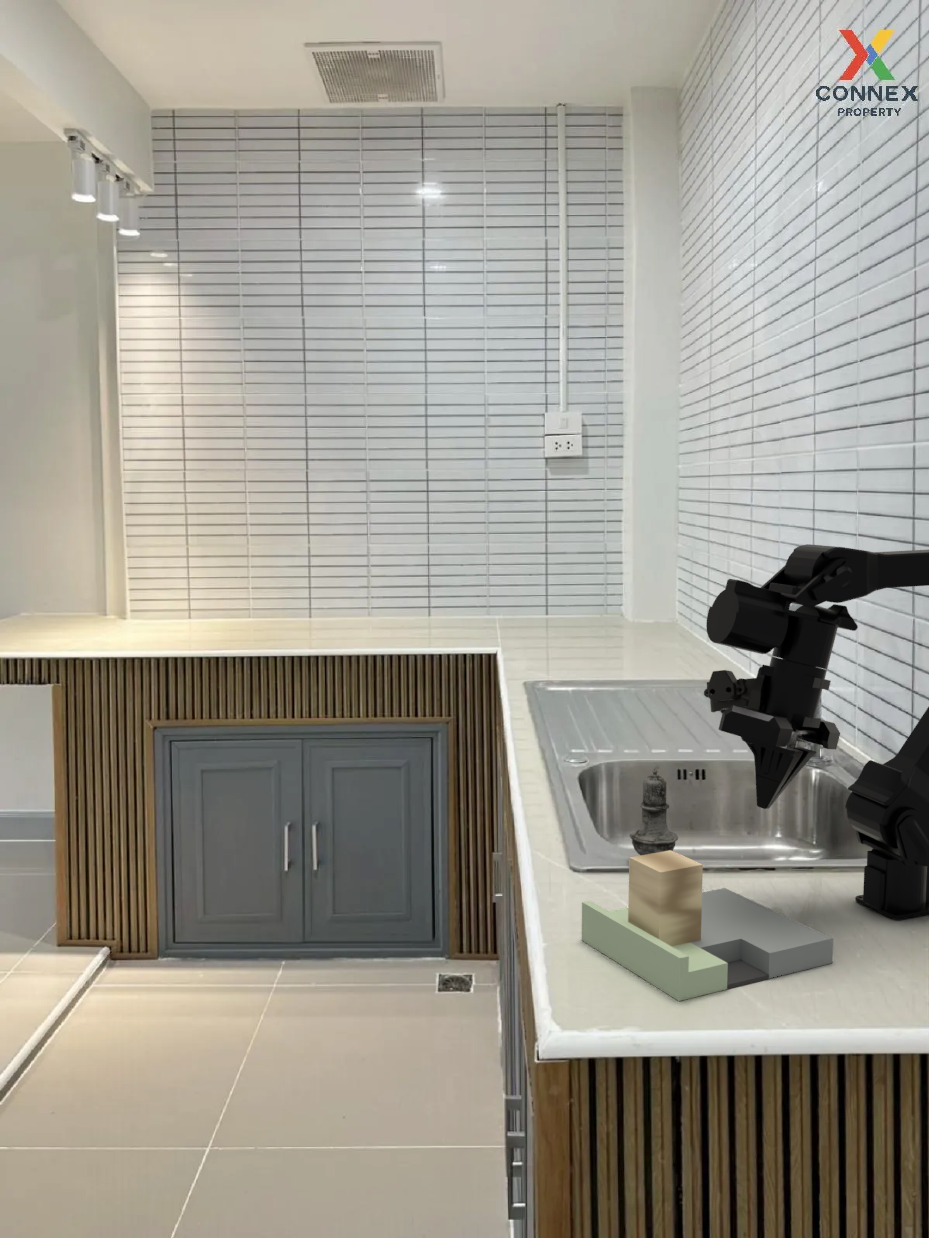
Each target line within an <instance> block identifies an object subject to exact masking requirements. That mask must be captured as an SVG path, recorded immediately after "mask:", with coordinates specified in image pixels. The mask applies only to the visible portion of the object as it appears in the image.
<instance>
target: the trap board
mask: <svg viewBox="0 0 929 1238" xmlns="http://www.w3.org/2000/svg"><path fill="white" fill-rule="evenodd" d="M581 941H582V942H584V943H585V944H587V945H588V946H590V947H591V948H594V949H595V950H597V951H598V952H600V953H602V954H603V955H605V956H606V957H607V958H610V960H613V961H614V962H616V963H617V964H619V965H620V966H622V967H624V968H625V969H627V970H629V971H630V972H632V973H634V974H636V976H638V977H640V978H642V979H643V980H645V981H646V982H648V983H649V984H651V985H652V986H654V987H656V988H657V989H659V990H661V991H662V992H663V993H665V994H667V995H669V996H670V997H672V998H673V999H675V1000H677V1001H678V1002H680V1001H685V1000H689V999H694V998H697V997H700V996H705V995H709V994H713V993H717V992H721V991H725V990H728V989H729V990H730V989H732V988H737V987H742V986H745V985H749V984H754V983H757V982H761V981H765V980H770V979H774V978H777V976H778V977H781V975H782V976H785V975H790V974H793V972H794V973H798V972H802V971H806V970H808V969H809V970H810V969H814V968H817V967H823V966H826V965H830V964H833V953H834V951H833V950H834V938H833V937H832V936H829V935H827V934H825V933H823V932H821V931H818V930H816V929H814V928H813V927H810V926H808V925H806V924H804V923H802V922H799V921H797V920H795V919H793V918H790V917H788V916H786V915H785V914H781V913H780V912H777V911H775V910H774V909H771V908H770V907H766V906H765V905H762V904H760V903H758V902H756V901H753V900H752V899H749V898H748V897H745V896H743V895H741V894H740V893H739V894H738V893H736V892H734V891H732V890H730V889H728V888H725V887H724V888H719V889H713V890H708V891H702V918H701V940H699V941H694V942H690V943H685V944H681V945H676V946H670V945H668V944H666V943H665V942H663V941H661V940H659V939H657V938H656V937H654V936H652V935H650V934H649V933H647V932H645V931H643V930H642V929H640V928H638V927H636V926H634V925H633V924H631V923H629V922H628V907H622V908H617V909H611V910H608V909H606V908H604V907H602V906H601V905H599V904H598V903H596V902H594V901H592V900H586V901H582V902H581ZM773 977H774V978H773Z"/></svg>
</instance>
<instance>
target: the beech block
mask: <svg viewBox="0 0 929 1238" xmlns="http://www.w3.org/2000/svg"><path fill="white" fill-rule="evenodd" d="M703 867H704V865H703V864H702V863H700V862H697V861H696V860H694V859H691V858H689V857H687V856H684V855H682V854H681V853H677V852H676V851H674V850H673V851H671V850H669V851H663V852H658V853H652V854H646V855H635V856H630V857H629V858H628V902H627V903H628V907H627V908H628V922H629V923H631V924H633V925H634V926H636V927H638V928H640V929H642V930H643V931H645V932H647V933H649V934H650V935H652V936H654V937H656V938H657V939H659V940H661V941H663V942H665V943H666V944H668V945H670V946H676V945H681V944H685V943H690V942H694V941H699V940H701V918H702V892H703V873H704V872H703V871H704V868H703Z"/></svg>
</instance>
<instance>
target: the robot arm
mask: <svg viewBox="0 0 929 1238" xmlns="http://www.w3.org/2000/svg"><path fill="white" fill-rule="evenodd" d="M924 586H926V587H927V586H929V549H913V550H912V549H911V550H894V551H893V550H892V551H891V550H889V551H869V550H863V549H856V548H850V547H843V546H831V545H820V544H806V543H805V544H802V545H799V546H797V547H795V548H794V549H793V551H792V553H791V554H790V555H789V556H788V558H787V561H786V563H785V565H784V566H783V567H782V568H780V569H779V570H778V571H777V572H776V573H775V574H774V575H773V576H771V578H769V579H768V580H767V582H765V583H764V584H763V585H762V586H760V587H759V586H755V585H753V584H751V583H750V582H747V581H743V580H740V579H735V578H734V579H733V578H728V579H727V581H726V585H725V589H723V590H722V591H721V592H719V593H718V595H717V596H716V597H715V600H714V601H713V603H712V606H709V609H708V611H707V616H706V633H707V636H708V639H709V641H711V642H712V643H713V644H717V645H723V646H726V647H731V648H734V649H739V650H742V651H746V652H747V651H748V652H751V653H756V654H758V655H759V654H760V655H766V654H768V653H770V652H771V651H772V653H771V657H770V662H769V665H767V664H762V665H761V666H759V668H758V671H757V675H756V677H753V678H738V679H737V677H736V676H735V674H734V672H733V671H732V670H727V669H723V670H714V671H713V670H712V672H711V676H710V678H709V681H708V682H706V688H705V689H704V691H703V696H705V698H708V699H709V701H710V702H709V703H710V712H711V713H716V712H720V713H721V717H720V721H719V726H718V730H719V731H721V732H724V733H727V734H731V735H734V736H739V737H740V738H741V740H742V742H744V743H745V744H746V745H747V746H748V748H749V750H750V751H751V753H752V754H753V759H754V771H755V774H754V775H755V791H756V792H755V794H756V795H755V796H756V806H757V807H759V808H761V809H763V810H767V809H770V808H771V807H772V806H773V804H774V803H775V802H776V800H777V799H778V798H779V797H780V796H781V794H782V793H783V792H785V790H786V788H788V785H789V784H790V783H791V782H792V781H793V779H794V778H795V777H796V776H797V774H799V772H800V771H801V770H802V769H803V768H804V767H805V766H806V765H807V764H808V762H809V761H810V760H811V759H812V758H813V757H816V754H817V751H815V750H813V749H809V748H805V746H806V742H809V743H812V744H815V745H819V746H822V748H824V749H827V750H837V747H838V743H839V740H840V736H841V732H840V730H839V728H838V727H837V725H836V723H835V722H832V721H828V720H826V719H825V720H824V719H822V718H819V717H816V715H817V711H818V708H819V707H818V706H819V703H820V700H821V699H820V698H821V696H822V691H823V690H826V691H829V689H830V686H831V680H829V679H826V675H827V670H828V668H829V664H830V659H831V655H832V652H833V647H834V644H835V641H836V636H837V632H838V629H842V630H848V631H853V632H855V631H857V629H858V627H859V625H858V624H857V622H856V621H855V620H854V618H853V617H852V616H851V614H850V612H849V611H848V610H849V609H848V607H847V606H846V605H842V604H839V603H845V602H849V601H853V600H857V599H860V598H863V597H866V596H868V595H871V594H872V593H874V592H876V591H880V590H883V589H890V588H892V589H894V588H907V587H908V588H909V587H924ZM828 602H829V603H834V604H832V605H830V607H828V608H824V607H821V606H819V605H820V604H823V603H828ZM791 604H795V605H801V606H799V607H797V608H796V610H792V609H790V607H791ZM847 790H848V791H850V793H849V796H848V798H847V800H846V803H845V805H844V807H845V810H846V817H847V820H848V823H849V824H850V826H851V827H852V829H854V832H855V834H856V838H857V841H858V843H859V844H861V845H865V846H867V847H869V848H871V850H867V851H866V852H867V853H866V855H867V856H866V865H865V866H864V867H863V868H864V869H863V891H862V892H863V894H860V895H856V896H855V897H854V898H855V899H854V900H855V902H856V903H859V904H861V905H863V906H865V907H867V908H870V909H872V910H873V911H876V912H878V913H880V914H882V915H885V916H886V917H888V918H891V919H894V920H901V919H902V920H903V919H907V918H913V917H919V916H925V915H929V706H928V707H927V708H926V710H925V712H924V713H923V715H922V716H921V718H920V719H919V720H918V722H917V724H916V725H915V727H914V728H913V729H912V731H911V732H910V733H909V735H908V737H907V738H906V740H905V742H904V743H903V745H902V746H901V747H900V748H899V750H898V752H897V754H895V756H894V757H893V758H891V759H890V760H888V761H886V762H884V763H883V764H882V763H879V762H877V761H875V760H872V759H871V760H870V759H869V760H868V761H867V762H866V763H865V764H864V766H863V768H862V770H861V772H860V774H859V776H858V778H857V779H856V780H855V781H854V782H853V783H852V784H851V785H849V786H848V787H847Z"/></svg>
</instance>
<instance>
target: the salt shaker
mask: <svg viewBox="0 0 929 1238" xmlns="http://www.w3.org/2000/svg"><path fill="white" fill-rule="evenodd" d="M658 772H659V771H658V770H657V768H656V767H655V768H654V769H653V770H652V774H651V775H648V776H646V777H645V778H644V779H643V782H642V802H640V803H639V807H640V808H641V823H640V826H639V828H638V829H636V830H633V831H631V832H630V833H629V838H630V839H631V844H632V846H633V848H634V851H635V852H636V853H637V854H638V856H641V855H646V854H652V853H658V852H663V851H669V850H671V851H673V852H674V849H675V847H676V842H677V841H678V839H679V836H678V834H677V833H675V832H673V831H670V830H669V827H668V822H667V816H668V815H667V814H668V813H667V809H669V808H670V805H669V804H668V803H667V781H666V779H665V778H664V777H662V776H660V775H659V774H658Z"/></svg>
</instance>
